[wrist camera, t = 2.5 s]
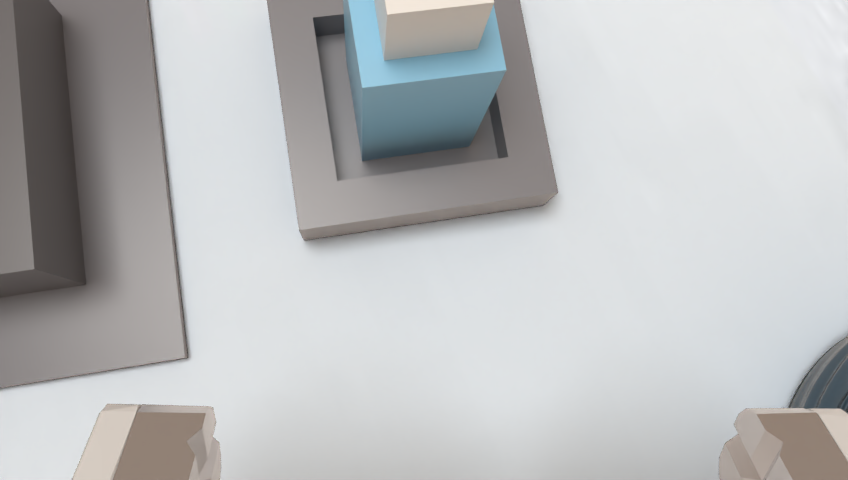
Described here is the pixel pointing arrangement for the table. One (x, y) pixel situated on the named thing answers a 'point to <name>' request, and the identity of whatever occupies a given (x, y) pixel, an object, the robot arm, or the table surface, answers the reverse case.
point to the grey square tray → (409, 174)
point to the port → (83, 194)
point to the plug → (420, 72)
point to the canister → (826, 382)
